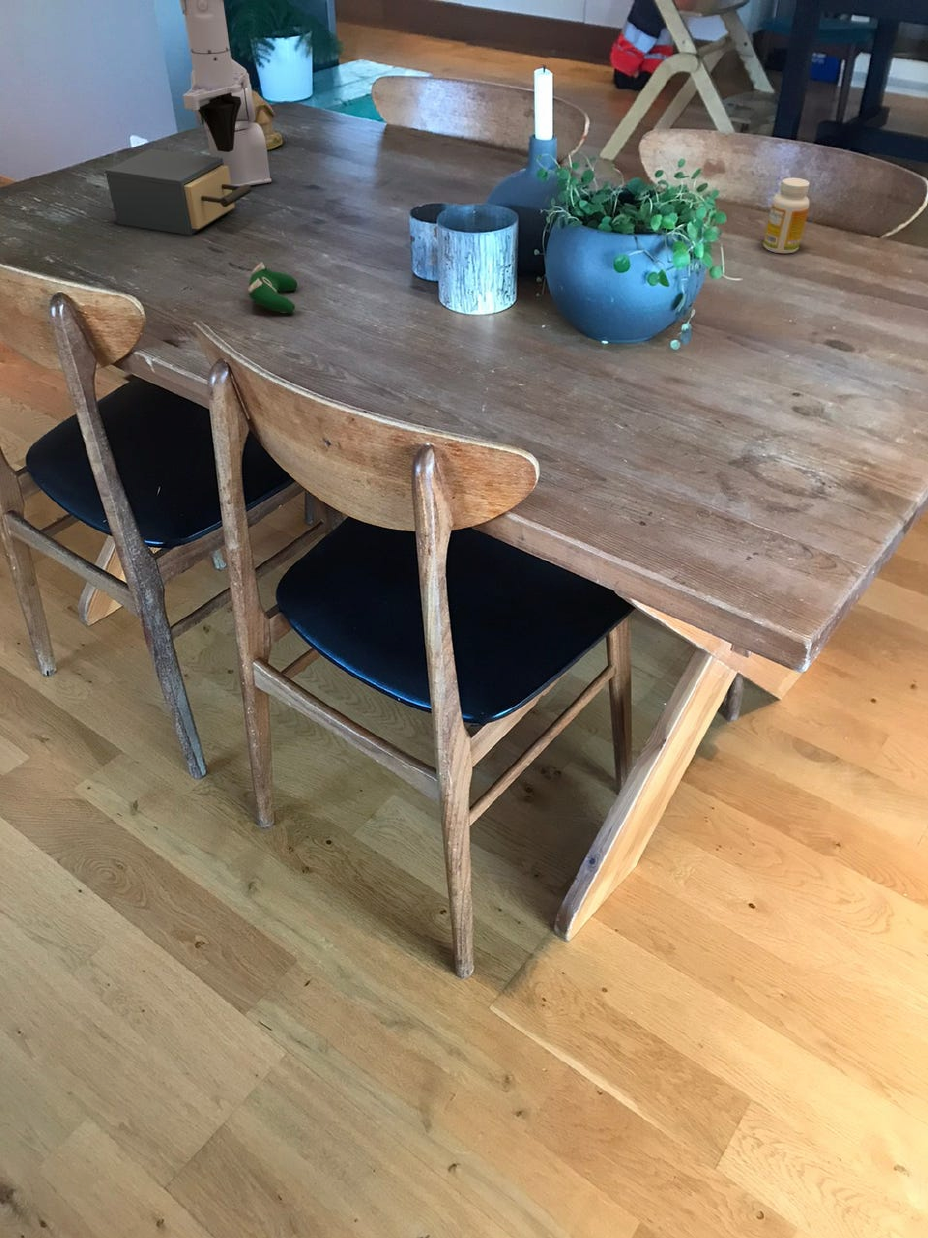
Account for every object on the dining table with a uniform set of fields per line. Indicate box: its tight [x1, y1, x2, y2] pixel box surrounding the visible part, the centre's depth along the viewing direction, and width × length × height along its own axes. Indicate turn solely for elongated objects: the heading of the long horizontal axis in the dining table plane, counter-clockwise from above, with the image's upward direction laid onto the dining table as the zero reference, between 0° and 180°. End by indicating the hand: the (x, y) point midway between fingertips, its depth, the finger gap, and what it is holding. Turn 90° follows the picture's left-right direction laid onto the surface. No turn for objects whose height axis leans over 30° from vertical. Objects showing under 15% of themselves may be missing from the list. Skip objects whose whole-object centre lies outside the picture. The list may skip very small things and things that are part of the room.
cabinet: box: [104, 148, 232, 236], centre depth 148 cm, size 14×12×8 cm
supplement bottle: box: [762, 177, 811, 254], centre depth 140 cm, size 5×5×10 cm
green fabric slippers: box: [247, 261, 298, 315], centre depth 126 cm, size 9×4×6 cm
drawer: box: [184, 165, 252, 229], centre depth 147 cm, size 17×11×6 cm, turn 69°
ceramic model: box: [252, 89, 283, 151], centre depth 178 cm, size 14×11×10 cm
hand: (225, 150), depth 144 cm, fingers closed
